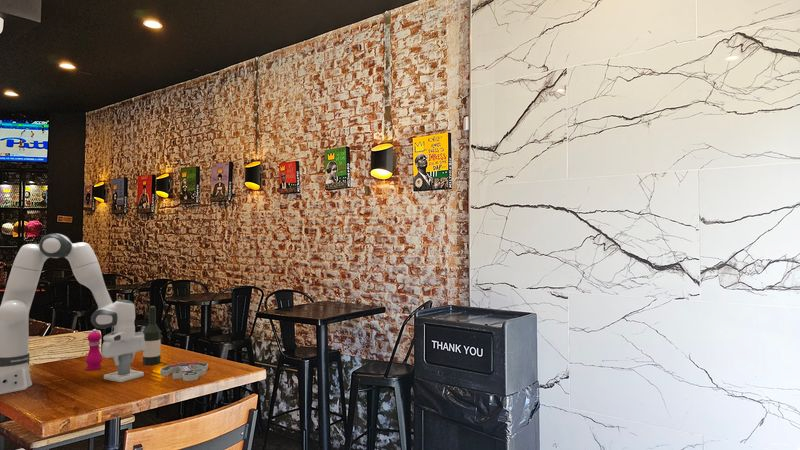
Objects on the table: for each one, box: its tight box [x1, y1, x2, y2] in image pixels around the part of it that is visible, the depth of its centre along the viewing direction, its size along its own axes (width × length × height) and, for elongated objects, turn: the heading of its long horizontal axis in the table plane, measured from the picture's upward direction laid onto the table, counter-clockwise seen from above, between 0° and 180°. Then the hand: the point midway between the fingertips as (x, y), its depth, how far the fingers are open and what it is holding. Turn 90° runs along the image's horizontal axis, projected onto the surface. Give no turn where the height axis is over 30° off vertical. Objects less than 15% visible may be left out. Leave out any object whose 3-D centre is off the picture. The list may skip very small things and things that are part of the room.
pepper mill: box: [85, 328, 103, 371], centre depth 266 cm, size 7×7×20 cm
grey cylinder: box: [117, 353, 131, 375], centre depth 249 cm, size 5×5×9 cm
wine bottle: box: [142, 305, 162, 366], centre depth 277 cm, size 8×8×30 cm
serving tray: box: [103, 369, 145, 383], centre depth 249 cm, size 12×12×2 cm
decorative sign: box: [160, 361, 209, 382], centre depth 257 cm, size 22×3×30 cm
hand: (124, 363), depth 249 cm, fingers closed on grey cylinder, 5 cm apart
